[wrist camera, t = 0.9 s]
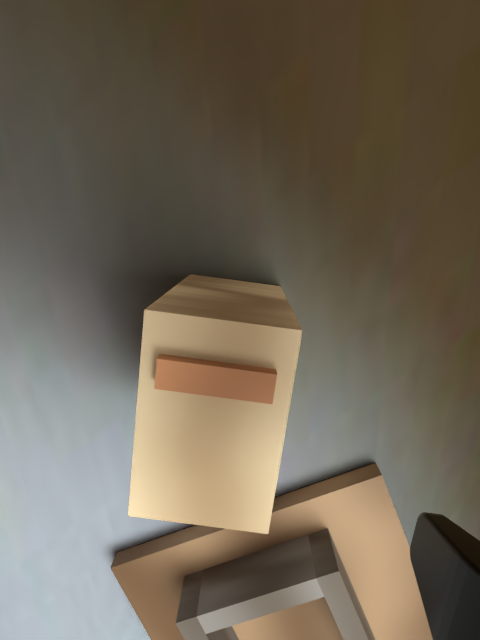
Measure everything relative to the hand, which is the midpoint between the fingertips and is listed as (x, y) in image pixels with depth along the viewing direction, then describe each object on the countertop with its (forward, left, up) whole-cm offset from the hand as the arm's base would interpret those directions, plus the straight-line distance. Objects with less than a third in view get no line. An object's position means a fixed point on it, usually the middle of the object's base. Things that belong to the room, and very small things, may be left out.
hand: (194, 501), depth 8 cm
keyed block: (0, 0, -11) cm, 11 cm away
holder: (+5, -14, -11) cm, 18 cm away
